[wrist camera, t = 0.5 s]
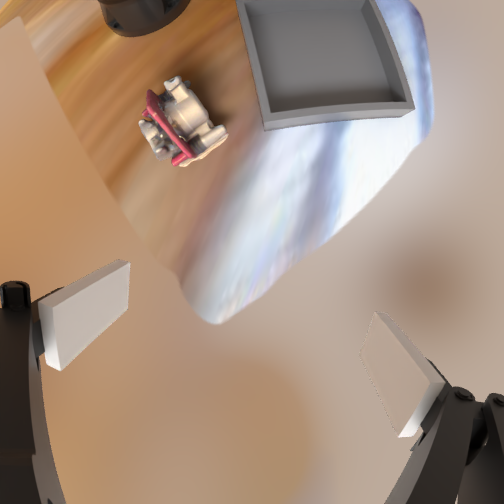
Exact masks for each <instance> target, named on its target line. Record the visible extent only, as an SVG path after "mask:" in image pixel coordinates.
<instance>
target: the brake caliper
mask: <svg viewBox="0 0 504 504" xmlns="http://www.w3.org/2000/svg"><path fill="white" fill-rule="evenodd" d="M164 85H165V88H166V91H165V92H164V93H163V94H161V95H156V94H155V93H154V92H153V91H152V90H150V89H149V90H148V91H147V98H146V99H147V100H146V101H147V109H146V110H144V111H143V112H142V115H143V116H144V117H149V118H152V119H153V121H152V122H151V121H147V120H145V119H142V120H140V121H139V126H140V128H141V131H142V133H143V135H144V136H145V138H146V140H147V141H148V142H149V143H150V145H151V147H152V149H153V151H154V153H155V155H156V157H157V159H159V160H160V161H162V160H164V159H168V158H170V157H172V165H173V166H177V165H180V166H184V167H185V166H188V165H189V163H190V162H192V161H194V160H201V159H202V158H204V157H205V156H206V155H207V154H209V153H210V151H211V150H213V149H214V148H215V147H218V146H219V145H220V144H222V143H223V142H224V141H225V140H226V138H227V137H228V133H227V129H226V127H225V126H224V125H218V126H214V125H213V123H212V122H211V121H210V120H209V115H208V112H207V110H206V109H205V108H204V106H203V105H202V103H201V102H200V101H199V99H198V98H197V96H196V95H195V94H194V92H193V91H192V90H191V89H189V87H190V85H191V82H190V81H185V82H182V80H181V77H180V76H175V77H174V78H171V79H170V80H167V81H165V82H164Z"/></svg>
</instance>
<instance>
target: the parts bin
mask: <svg viewBox="0 0 504 504" xmlns="http://www.w3.org/2000/svg"><path fill="white" fill-rule="evenodd" d="M236 5H237V10H238V15H239V19H240V24H241V28H242V32H243V36H244V40H245V44H246V48H247V53H248V57H249V61H250V66H251V70H252V74H253V79H254V83H255V88H256V93H257V97H258V102H259V106H260V111H261V116H262V121H263V126H264V130H265V131H270V130H276V129H283V128H289V127H296V126H303V125H311V124H319V123H328V122H337V121H348V120H360V119H375V118H396V117H402V116H404V115H405V114H407V113H409V112H411V111H413V110H414V109H415V106H414V102H413V99H412V95H411V92H410V89H409V85H408V82H407V79H406V76H405V73H404V70H403V67H402V64H401V61H400V58H399V56H398V53H397V50H396V48H395V45H394V42H393V40H392V37H391V35H390V33H389V30H388V28H387V26H386V23H385V21H384V19H383V17H382V14H381V12H380V10H379V8H378V6H377V4H376V2H375V0H236Z"/></svg>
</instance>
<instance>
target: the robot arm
mask: <svg viewBox="0 0 504 504" xmlns="http://www.w3.org/2000/svg"><path fill="white" fill-rule="evenodd" d="M98 1H99V2H100V6H101V9H102V13H103V16H104V19H105V22H106V24H107V25H108V26H109V27H110V28H111V29H112V30H113V31H114V32H115V33H116V34H118V35H121V36H125V37H137V36H142V35H146V34H149V33H152V32H154V31H157V30H159V29H161V28H163V27H164V26H166V25H168V24H169V23H171V22H172V21H173V20H174V19H176V18H177V17H178V16H179V15H180V14H181V13H182V12H183V11H184V9H185V8H186V7H187V5H188V3H189V1H190V0H98ZM129 276H130V262H128V261H124V260H120V259H118V260H116V261H114V262H112V263H110V264H108V265H106V266H104V267H102V268H100V269H98V270H96V271H94V272H92V273H90V274H88V275H86V276H85V277H83V278H81V279H79V280H77V281H75V282H73V283H71V284H69V285H67V286H66V287H61V288H57V289H56V290H54V291H52V292H51V293H48V294H46V295H45V296H43V297H41V298H39V299H37V300H35V301H34V302H32V303H31V298H30V287H29V285H28V284H27V283H26V282H22V281H9V282H5V283H3V284H2V285H1V286H0V296H1V304H2V308H0V504H66V502H65V498H64V495H63V492H62V489H61V485H60V482H59V478H58V475H57V471H56V467H55V463H54V459H53V455H52V450H51V445H50V440H49V435H48V429H47V423H46V417H45V409H44V402H43V392H42V382H41V368H40V360H39V356H40V355H41V354H43V353H44V352H45V357H46V363H47V365H49V366H51V367H54V368H55V369H57V370H59V371H62V370H63V369H64V368H65V367H66V366H67V365H68V364H69V363H70V362H71V361H72V360H73V359H74V358H75V357H76V356H77V355H78V354H80V353H81V352H82V351H83V350H84V349H85V348H86V347H87V346H88V345H89V344H90V343H91V342H92V341H93V340H95V339H96V338H97V337H98V336H99V335H100V334H101V333H102V332H103V331H104V330H105V329H106V328H108V327H109V326H110V325H111V324H112V323H113V322H114V321H115V320H116V319H118V318H119V316H121V315H122V314H123V313H124V312H125V311H126V310H128V293H129ZM359 357H360V359H361V361H362V363H363V365H364V367H365V369H366V371H367V373H368V375H369V377H370V379H371V381H372V383H373V385H374V387H375V389H376V391H377V394H378V396H379V398H380V400H381V402H382V404H383V406H384V408H385V410H386V413H387V415H388V417H389V419H390V421H391V424H392V426H393V428H394V430H395V432H396V435H397V437H410V436H413V435H414V434H415V432H416V431H417V429H418V428H419V426H420V425H421V427H422V429H423V431H424V432H423V433H422V435H421V436H420V438H419V439H418V441H417V442H416V443H415V444H414V446H413V447H412V448H411V450H410V451H413V452H412V454H411V456H410V458H409V460H408V462H407V464H406V466H405V468H404V470H403V472H402V474H401V476H400V478H399V479H398V481H397V483H396V485H395V487H394V488H393V490H392V492H391V493H390V495H389V497H388V498H387V500H386V502H385V503H384V504H455V501H456V498H457V494H458V504H504V396H503V395H501V394H496V393H491V394H489V396H488V397H487V399H486V400H485V402H484V403H483V402H476V401H475V397H474V396H473V394H472V393H471V392H469V391H468V390H466V389H464V388H461V387H452V386H451V385H450V384H449V383H448V381H447V380H446V379H445V377H444V376H443V375H442V374H441V373H440V371H439V370H438V369H437V368H436V366H434V364H433V363H432V362H431V361H430V360H428V359H427V358H426V357H424V355H423V354H422V353H421V352H420V351H419V349H418V348H417V347H416V346H415V345H414V344H413V342H412V341H411V340H410V339H409V338H408V336H407V335H406V334H405V333H404V332H403V331H402V329H401V328H400V327H399V326H398V325H397V324H396V323H395V321H394V320H393V319H392V318H391V317H390V316H389V315H388V314H387V313H384V312H377V311H375V312H374V316H373V318H372V321H371V324H370V327H369V329H368V332H367V335H366V338H365V340H364V343H363V346H362V348H361V351H360V353H359ZM486 442H487V443H486ZM485 444H486V445H485Z"/></svg>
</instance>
